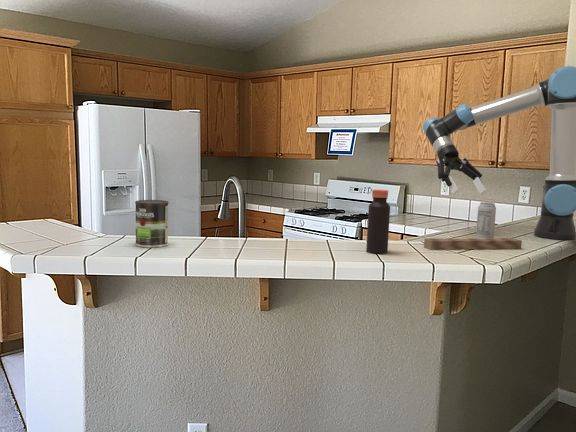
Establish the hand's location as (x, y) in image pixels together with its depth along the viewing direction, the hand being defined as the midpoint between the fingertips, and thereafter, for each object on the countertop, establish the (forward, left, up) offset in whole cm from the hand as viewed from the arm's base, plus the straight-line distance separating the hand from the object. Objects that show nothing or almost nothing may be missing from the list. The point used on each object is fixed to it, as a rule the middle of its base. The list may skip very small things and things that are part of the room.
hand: (469, 192), depth 193 cm
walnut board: (+7, +16, -18) cm, 25 cm away
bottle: (+44, +21, -18) cm, 52 cm away
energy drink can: (-2, +9, -18) cm, 20 cm away
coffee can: (+115, +6, -18) cm, 117 cm away
